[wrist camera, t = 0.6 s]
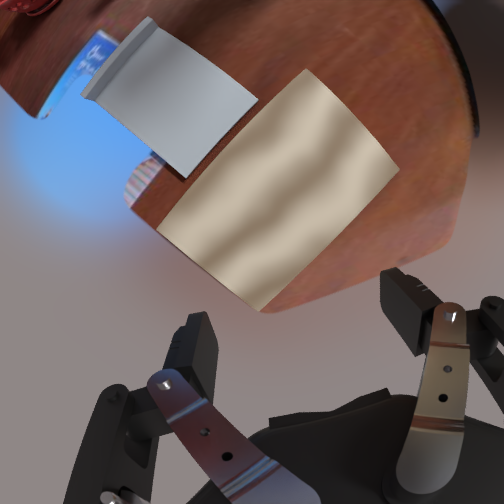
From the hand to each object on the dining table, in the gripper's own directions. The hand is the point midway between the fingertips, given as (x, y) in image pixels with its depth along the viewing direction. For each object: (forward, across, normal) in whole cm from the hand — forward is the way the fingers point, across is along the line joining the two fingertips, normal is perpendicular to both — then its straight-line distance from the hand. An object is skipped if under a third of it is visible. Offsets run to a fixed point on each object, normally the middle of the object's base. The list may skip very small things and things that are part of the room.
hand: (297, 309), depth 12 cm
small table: (+27, -2, -2) cm, 27 cm away
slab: (+28, +9, -18) cm, 34 cm away
